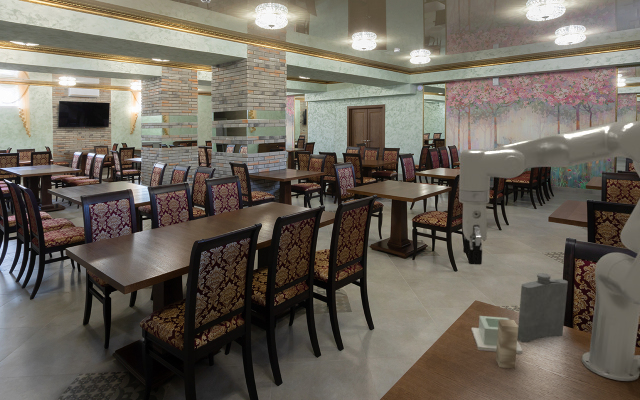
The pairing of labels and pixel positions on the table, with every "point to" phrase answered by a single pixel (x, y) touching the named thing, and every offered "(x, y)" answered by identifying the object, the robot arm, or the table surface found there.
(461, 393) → the table surface
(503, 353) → the beech peg
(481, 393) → the table surface
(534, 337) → the hip flask
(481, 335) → the socket holder
